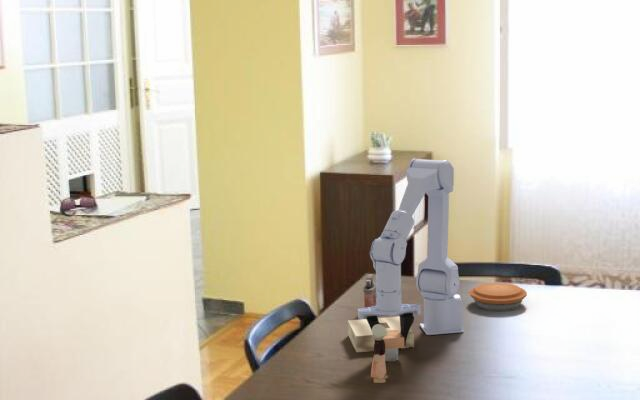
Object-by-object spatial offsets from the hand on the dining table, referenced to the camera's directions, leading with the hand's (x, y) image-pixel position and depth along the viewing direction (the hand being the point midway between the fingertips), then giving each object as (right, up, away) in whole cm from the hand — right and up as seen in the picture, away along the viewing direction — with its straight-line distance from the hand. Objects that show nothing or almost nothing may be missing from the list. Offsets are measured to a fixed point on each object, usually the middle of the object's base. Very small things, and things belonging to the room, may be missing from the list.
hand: (390, 345), depth 208 cm
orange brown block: (0, -3, +1) cm, 3 cm away
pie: (+32, +5, +37) cm, 50 cm away
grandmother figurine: (-3, -6, -12) cm, 13 cm away
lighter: (-3, +3, +35) cm, 35 cm away
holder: (-1, -1, +12) cm, 12 cm away
